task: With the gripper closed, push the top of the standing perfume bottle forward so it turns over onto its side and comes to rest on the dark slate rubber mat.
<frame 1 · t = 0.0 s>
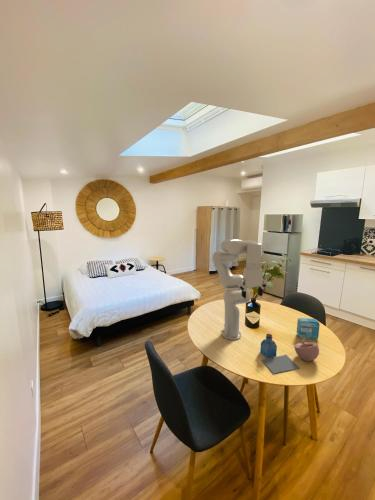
hand: (252, 296, 121), 37 cm above the table, tool pointing down, fingers open, 9 cm apart
slate mat: (280, 364, 122), on the table
perfume bottle: (268, 354, 131), on the table
data package: (307, 337, 148), on the table
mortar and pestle: (305, 358, 126), on the table
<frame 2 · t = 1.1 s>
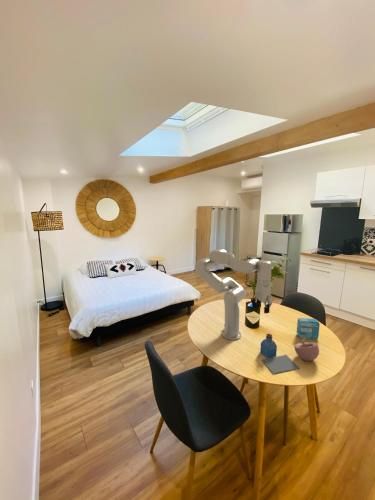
hand: (262, 309, 134), 24 cm above the table, tool pointing down, fingers open, 8 cm apart
nothing on the table moved.
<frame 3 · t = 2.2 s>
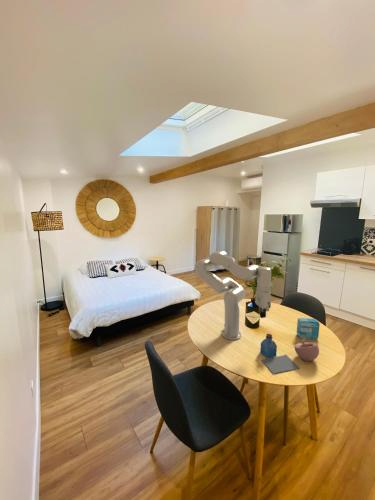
hand: (262, 317, 135), 19 cm above the table, tool pointing down, fingers closed
nothing on the table moved.
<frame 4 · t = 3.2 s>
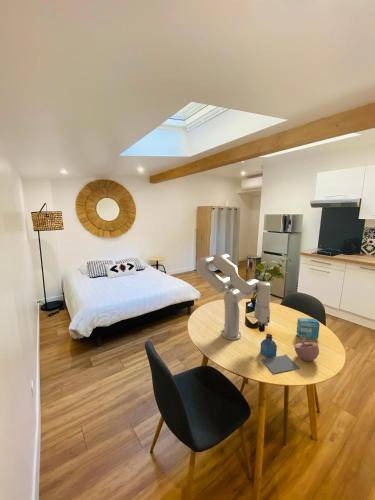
hand: (261, 331, 136), 10 cm above the table, tool pointing down, fingers closed
nothing on the table moved.
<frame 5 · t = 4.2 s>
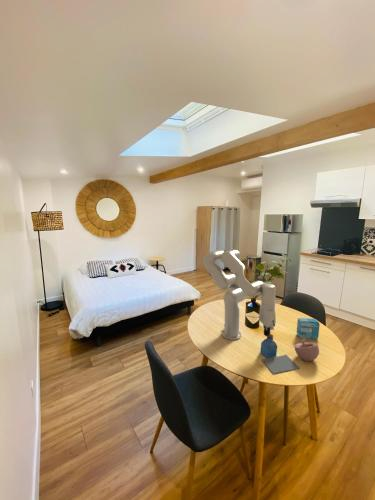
hand: (266, 335, 131), 10 cm above the table, tool pointing down, fingers closed
perfume bottle: (268, 353, 131), on the table, touching gripper
everything else where it was.
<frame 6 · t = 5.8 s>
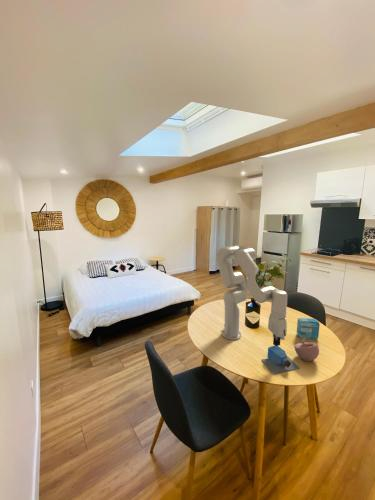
hand: (276, 344, 122), 10 cm above the table, tool pointing down, fingers closed
perfume bottle: (271, 350, 128), point 4 cm above the table, touching slate mat
everything else where it was.
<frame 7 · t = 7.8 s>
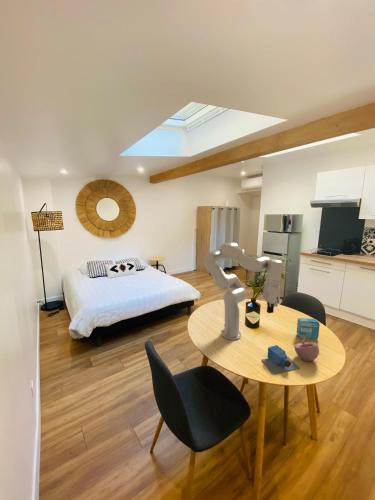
hand: (269, 312, 128), 25 cm above the table, tool pointing down, fingers closed
nothing on the table moved.
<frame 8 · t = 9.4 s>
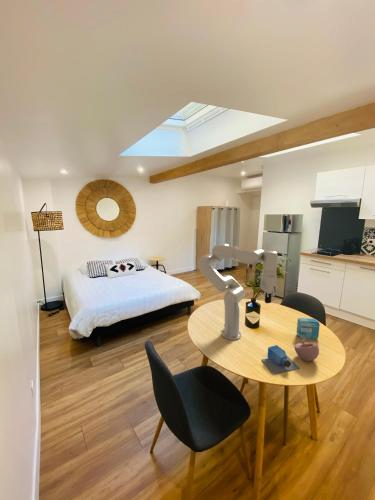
hand: (267, 302, 132), 29 cm above the table, tool pointing down, fingers closed
nothing on the table moved.
at the end: perfume bottle tilted 90°; perfume bottle touching slate mat; perfume bottle moved 4.5 cm from its start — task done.
